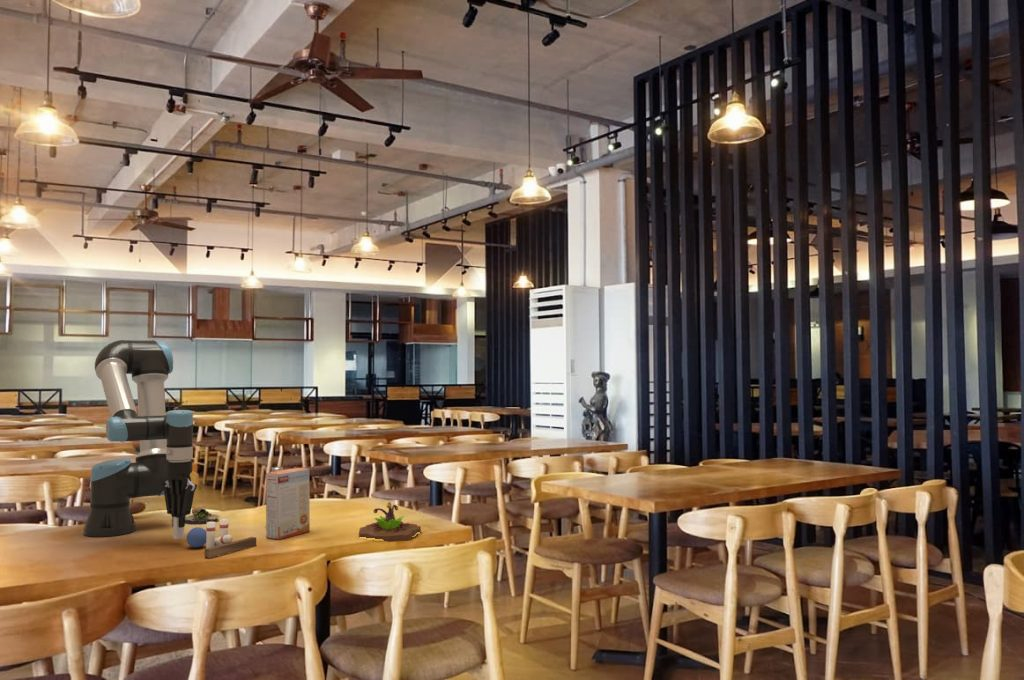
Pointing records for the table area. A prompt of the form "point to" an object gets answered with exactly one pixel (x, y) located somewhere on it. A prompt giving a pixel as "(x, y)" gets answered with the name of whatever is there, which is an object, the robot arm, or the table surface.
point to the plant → (389, 527)
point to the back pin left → (223, 527)
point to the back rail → (230, 547)
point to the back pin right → (210, 535)
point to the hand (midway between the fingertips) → (178, 537)
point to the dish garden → (200, 516)
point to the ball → (196, 537)
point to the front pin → (223, 540)
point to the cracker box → (287, 503)
